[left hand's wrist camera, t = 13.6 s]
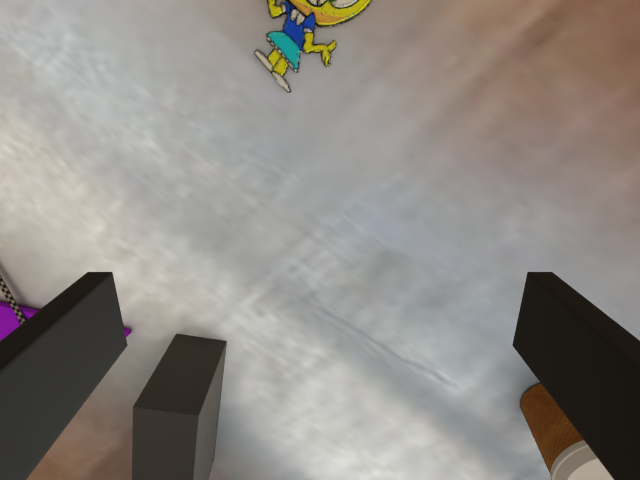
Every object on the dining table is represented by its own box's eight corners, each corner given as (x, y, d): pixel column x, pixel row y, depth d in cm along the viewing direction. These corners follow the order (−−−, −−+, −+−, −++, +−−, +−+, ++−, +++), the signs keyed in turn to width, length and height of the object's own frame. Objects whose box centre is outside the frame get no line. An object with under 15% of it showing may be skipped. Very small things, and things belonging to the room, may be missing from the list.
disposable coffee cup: (570, 361, 50) (643, 439, 39) (588, 413, 53) (660, 500, 42) (498, 388, 51) (547, 471, 40) (519, 437, 54) (571, 527, 43)
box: (176, 333, 49) (132, 407, 37) (226, 341, 49) (198, 416, 38) (169, 454, 56) (131, 547, 45) (213, 460, 56) (187, 553, 45)
